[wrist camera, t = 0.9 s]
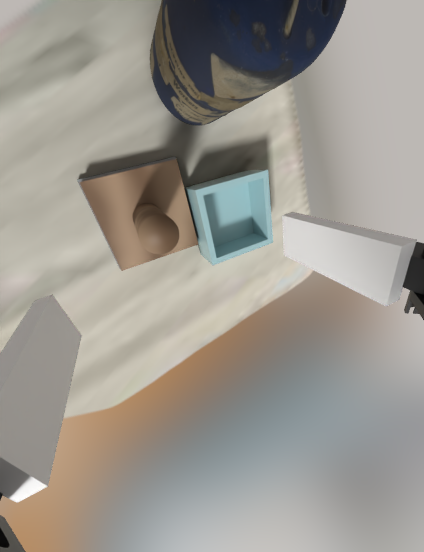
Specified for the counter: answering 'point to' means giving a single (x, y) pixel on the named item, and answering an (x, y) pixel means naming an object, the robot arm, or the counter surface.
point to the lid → (142, 212)
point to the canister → (234, 50)
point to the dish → (231, 214)
